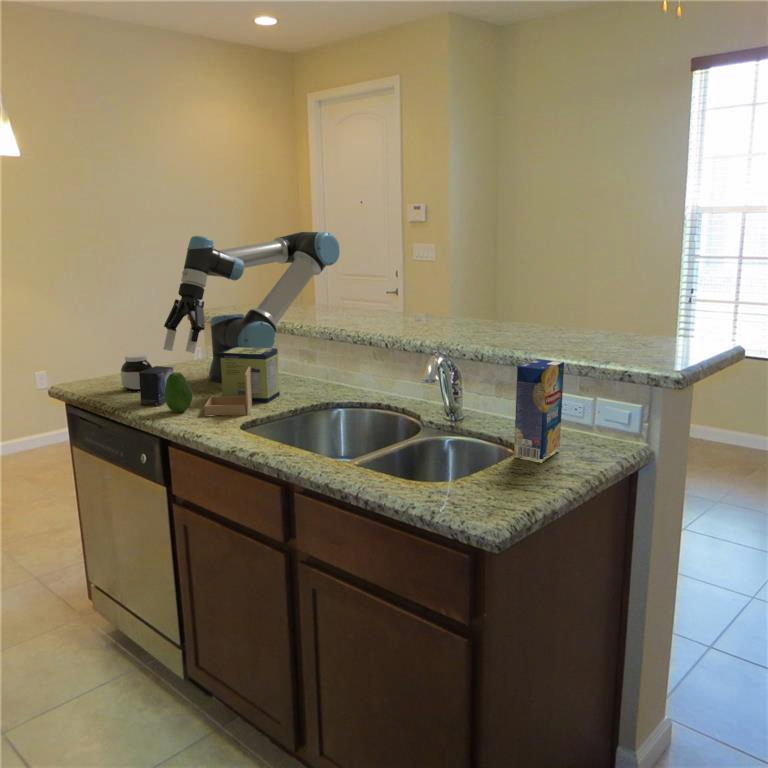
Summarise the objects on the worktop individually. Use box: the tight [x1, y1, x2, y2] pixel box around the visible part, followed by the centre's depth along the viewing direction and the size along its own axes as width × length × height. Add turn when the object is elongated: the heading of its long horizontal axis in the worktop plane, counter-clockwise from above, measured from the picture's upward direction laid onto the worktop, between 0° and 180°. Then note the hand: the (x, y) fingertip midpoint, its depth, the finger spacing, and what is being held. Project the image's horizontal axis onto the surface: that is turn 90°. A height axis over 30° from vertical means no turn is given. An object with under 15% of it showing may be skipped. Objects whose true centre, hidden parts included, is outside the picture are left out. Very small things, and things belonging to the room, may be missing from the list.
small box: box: [139, 365, 174, 406], centre depth 219 cm, size 11×6×10 cm, turn 168°
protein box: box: [220, 347, 281, 404], centre depth 223 cm, size 10×16×16 cm
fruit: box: [164, 371, 194, 413], centre depth 207 cm, size 8×8×12 cm
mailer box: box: [203, 367, 253, 416], centre depth 208 cm, size 12×12×12 cm
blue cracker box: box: [513, 358, 565, 459], centre depth 165 cm, size 7×11×22 cm, turn 144°
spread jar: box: [120, 353, 153, 393], centre depth 238 cm, size 12×11×12 cm
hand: (178, 351), depth 220 cm, fingers open, 13 cm apart
